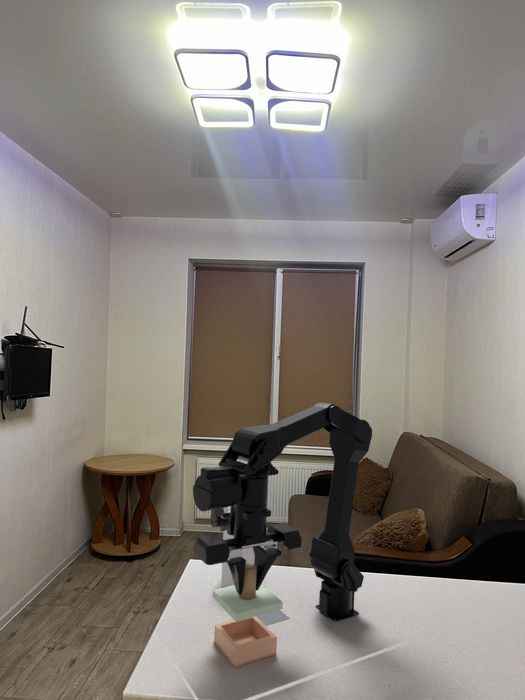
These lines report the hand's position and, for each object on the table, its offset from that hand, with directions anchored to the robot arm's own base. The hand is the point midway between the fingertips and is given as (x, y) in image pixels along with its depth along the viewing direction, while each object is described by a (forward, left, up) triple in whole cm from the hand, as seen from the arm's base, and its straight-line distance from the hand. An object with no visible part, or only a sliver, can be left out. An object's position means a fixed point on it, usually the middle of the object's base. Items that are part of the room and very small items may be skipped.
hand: (247, 591), depth 84 cm
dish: (0, 0, -10) cm, 10 cm away
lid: (0, 0, -2) cm, 2 cm away
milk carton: (-11, -23, -10) cm, 28 cm away
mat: (-8, -9, -10) cm, 16 cm away
